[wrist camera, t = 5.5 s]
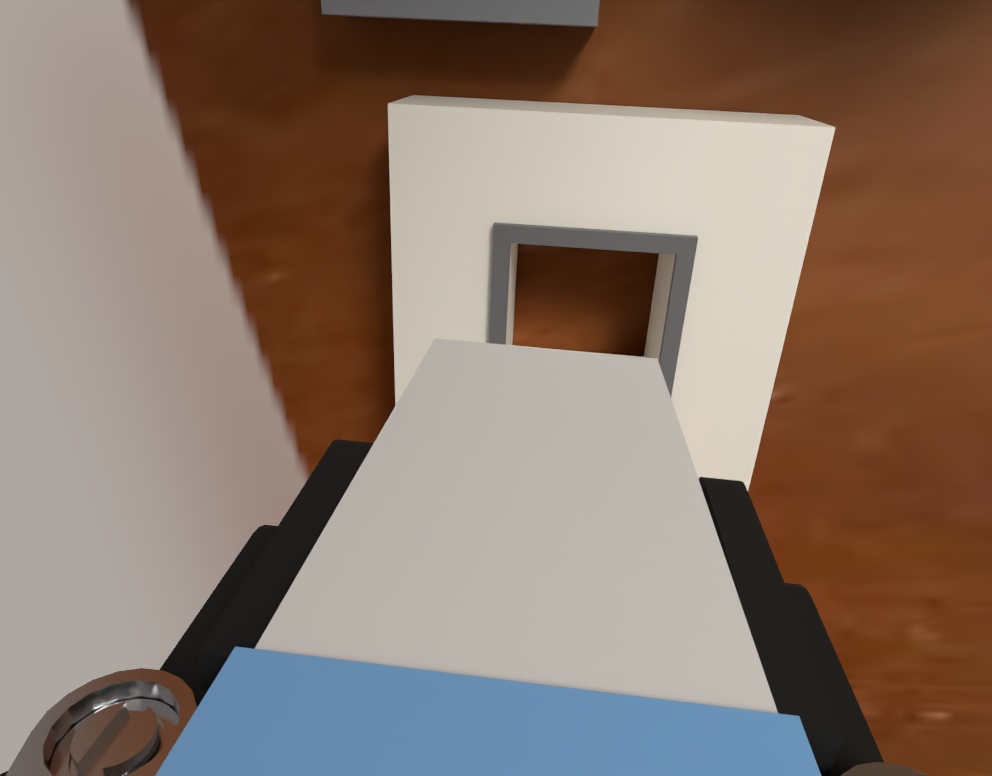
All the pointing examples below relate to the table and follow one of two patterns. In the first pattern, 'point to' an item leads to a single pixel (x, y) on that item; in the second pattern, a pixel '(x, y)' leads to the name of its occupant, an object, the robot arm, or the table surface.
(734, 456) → the port panel
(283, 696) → the plug
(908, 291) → the table surface
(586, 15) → the grey square frame
